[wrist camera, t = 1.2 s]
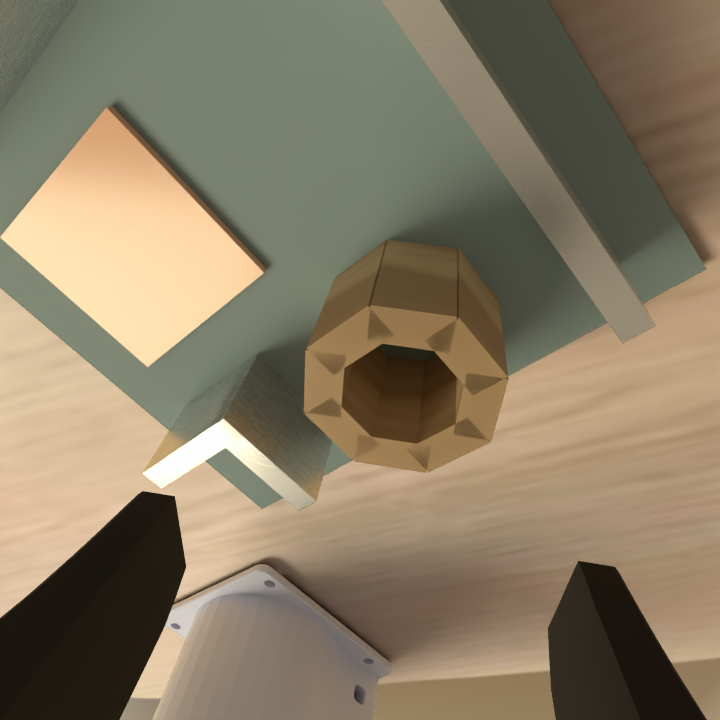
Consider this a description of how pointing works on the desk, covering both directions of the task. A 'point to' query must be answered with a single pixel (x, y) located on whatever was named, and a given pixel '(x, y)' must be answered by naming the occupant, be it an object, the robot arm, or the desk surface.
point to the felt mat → (329, 173)
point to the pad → (131, 241)
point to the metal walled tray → (256, 376)
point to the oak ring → (405, 376)
